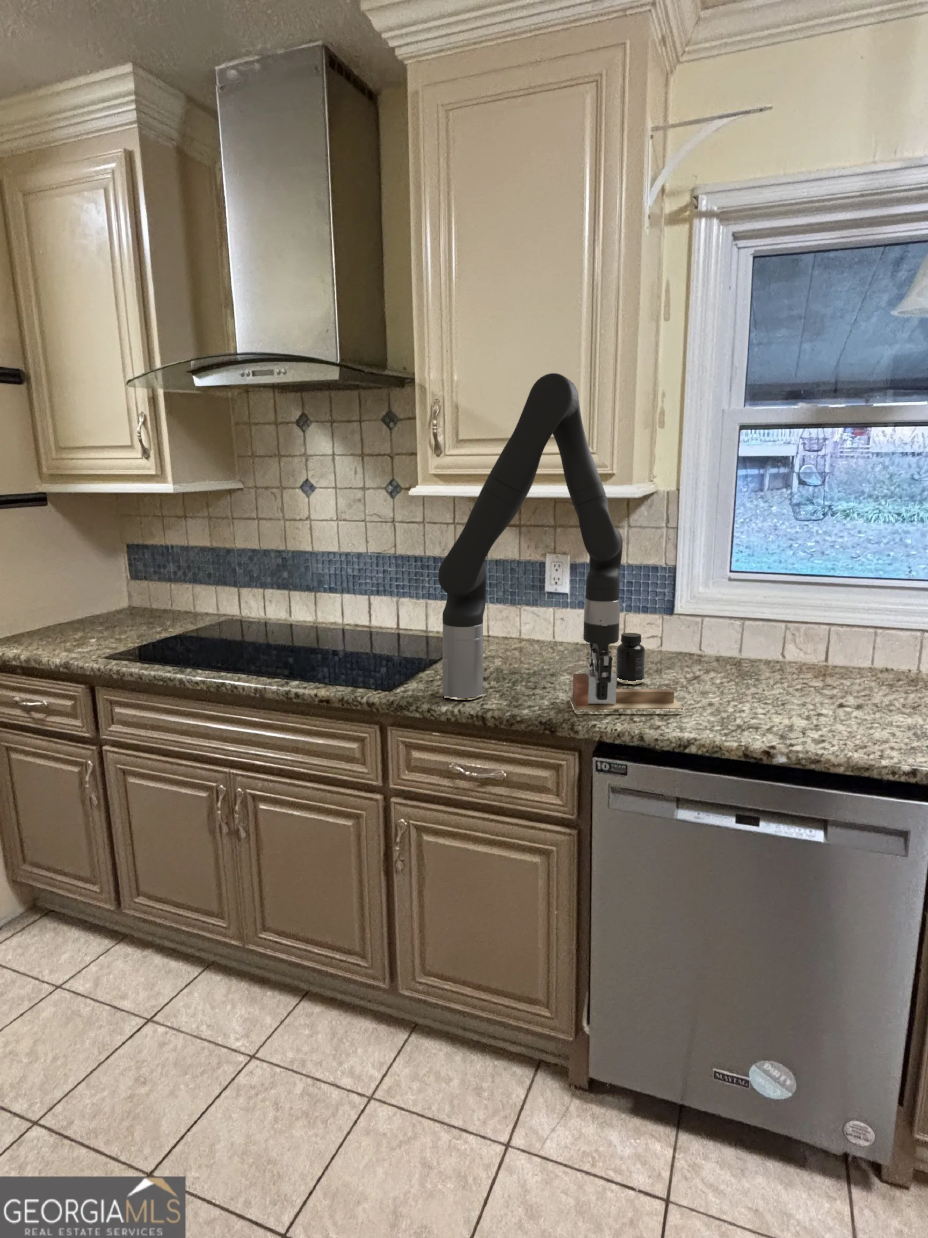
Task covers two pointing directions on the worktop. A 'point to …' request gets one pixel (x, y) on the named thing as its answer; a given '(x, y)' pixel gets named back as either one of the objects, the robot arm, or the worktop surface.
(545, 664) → the worktop surface
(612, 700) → the block
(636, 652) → the supplement bottle
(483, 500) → the robot arm
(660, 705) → the rail
